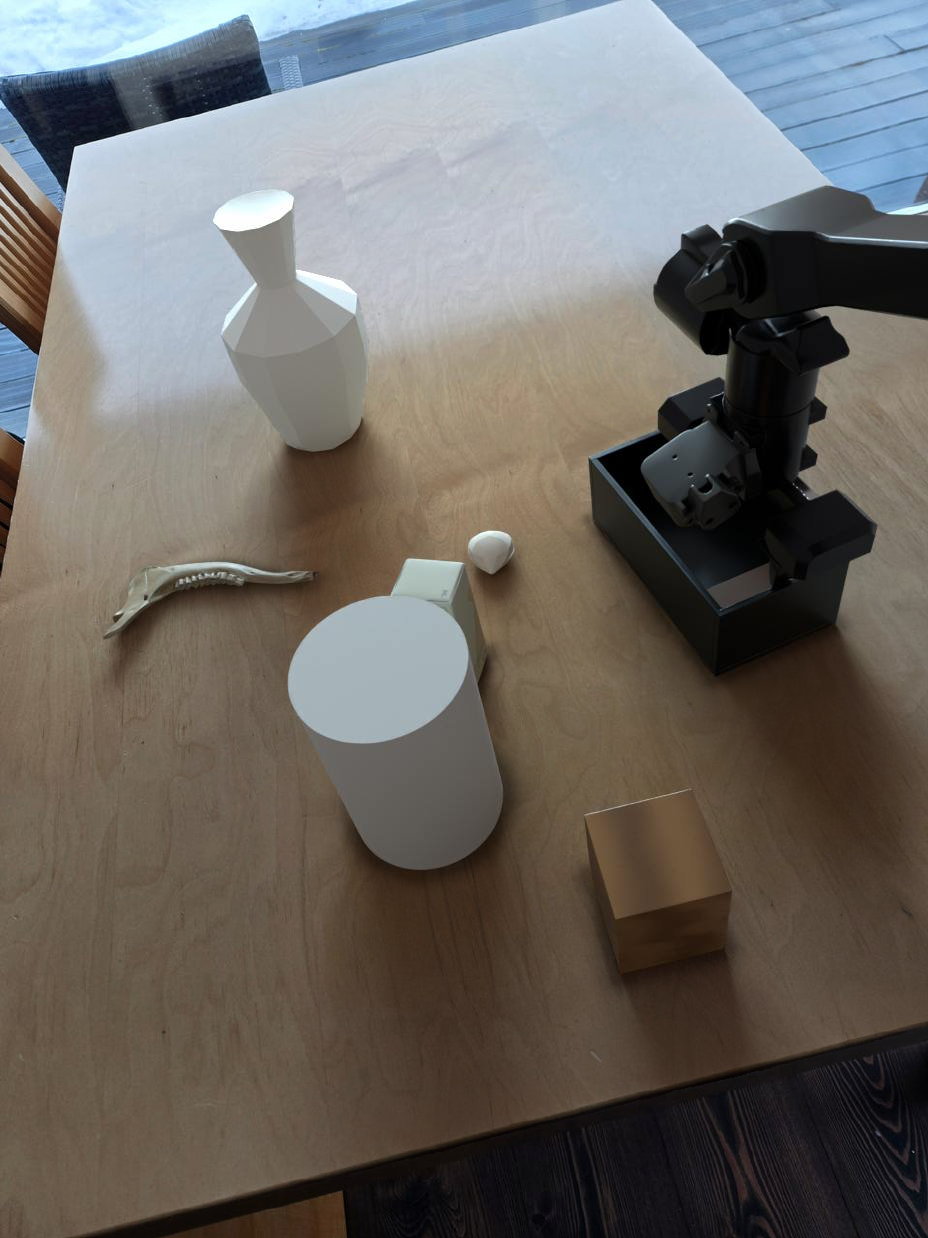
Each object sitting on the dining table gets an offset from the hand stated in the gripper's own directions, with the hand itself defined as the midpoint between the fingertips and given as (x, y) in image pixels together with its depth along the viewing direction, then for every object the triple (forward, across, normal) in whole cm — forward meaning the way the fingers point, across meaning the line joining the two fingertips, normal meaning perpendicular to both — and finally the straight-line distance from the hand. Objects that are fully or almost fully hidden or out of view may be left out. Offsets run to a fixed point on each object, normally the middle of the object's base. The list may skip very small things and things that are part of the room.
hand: (747, 550), depth 73 cm
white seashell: (+8, -16, -16) cm, 24 cm away
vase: (+9, -44, -24) cm, 51 cm away
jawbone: (+8, -24, -42) cm, 49 cm away
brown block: (+6, +1, 0) cm, 7 cm away
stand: (+6, +20, -19) cm, 29 cm away
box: (+8, -6, -24) cm, 26 cm away
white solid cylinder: (+7, +5, -30) cm, 32 cm away
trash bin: (+7, -5, 0) cm, 9 cm away
